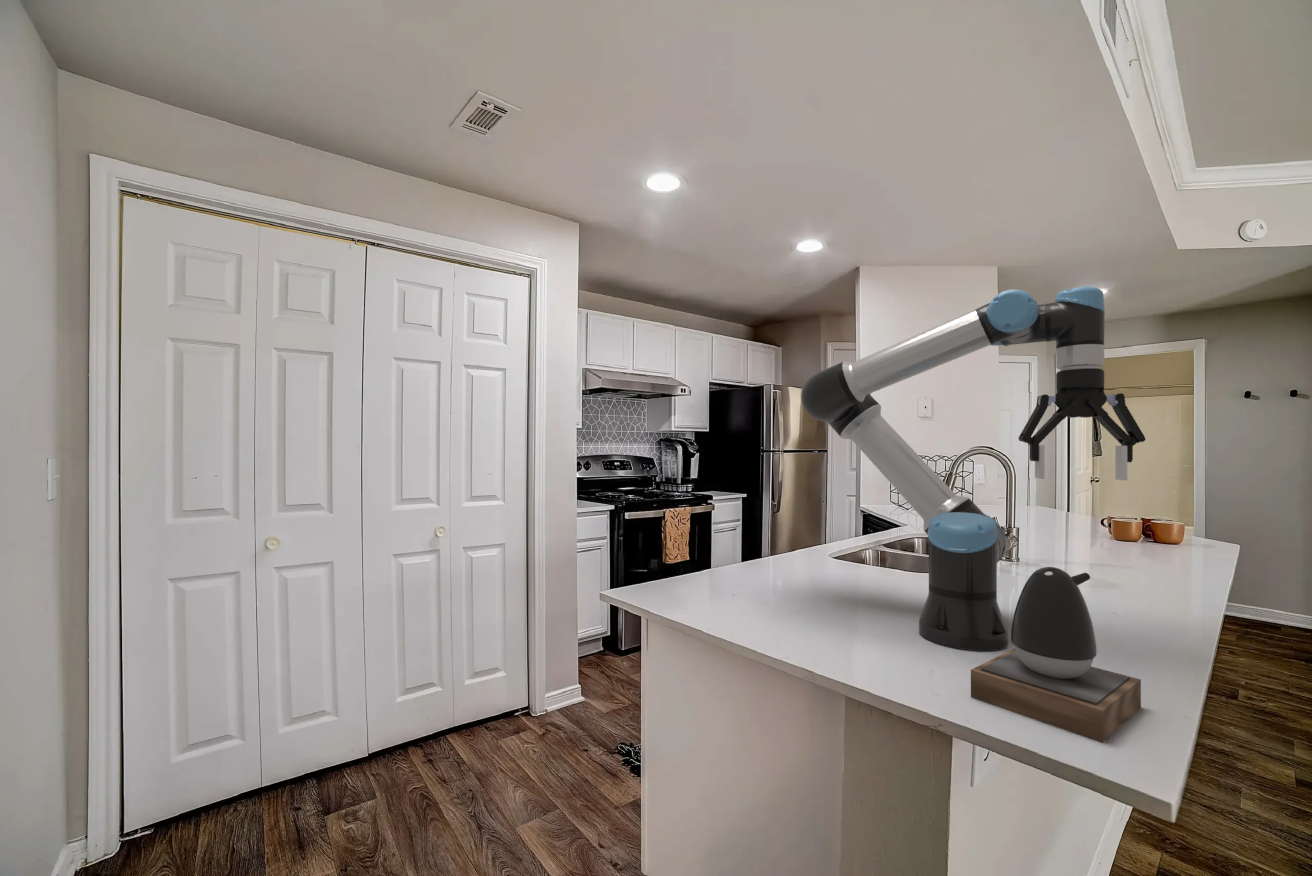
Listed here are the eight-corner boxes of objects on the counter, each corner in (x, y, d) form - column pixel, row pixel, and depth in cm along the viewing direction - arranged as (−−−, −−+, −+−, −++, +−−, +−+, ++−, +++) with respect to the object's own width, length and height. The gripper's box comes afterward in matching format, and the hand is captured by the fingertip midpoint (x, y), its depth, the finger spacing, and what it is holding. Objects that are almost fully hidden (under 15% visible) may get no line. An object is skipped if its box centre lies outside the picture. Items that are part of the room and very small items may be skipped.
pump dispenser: (1117, 687, 78) (1116, 575, 78) (1040, 686, 78) (1039, 575, 78) (1065, 658, 88) (1064, 560, 88) (996, 658, 89) (996, 559, 89)
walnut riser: (1103, 742, 72) (1102, 708, 72) (970, 697, 85) (970, 667, 85) (1141, 707, 81) (1140, 677, 81) (1016, 671, 94) (1016, 645, 94)
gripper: (1145, 370, 111) (1145, 479, 111) (1001, 373, 118) (1001, 476, 118) (1168, 364, 104) (1168, 481, 104) (1013, 368, 111) (1013, 478, 111)
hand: (1079, 479), depth 111 cm, fingers open, 13 cm apart
